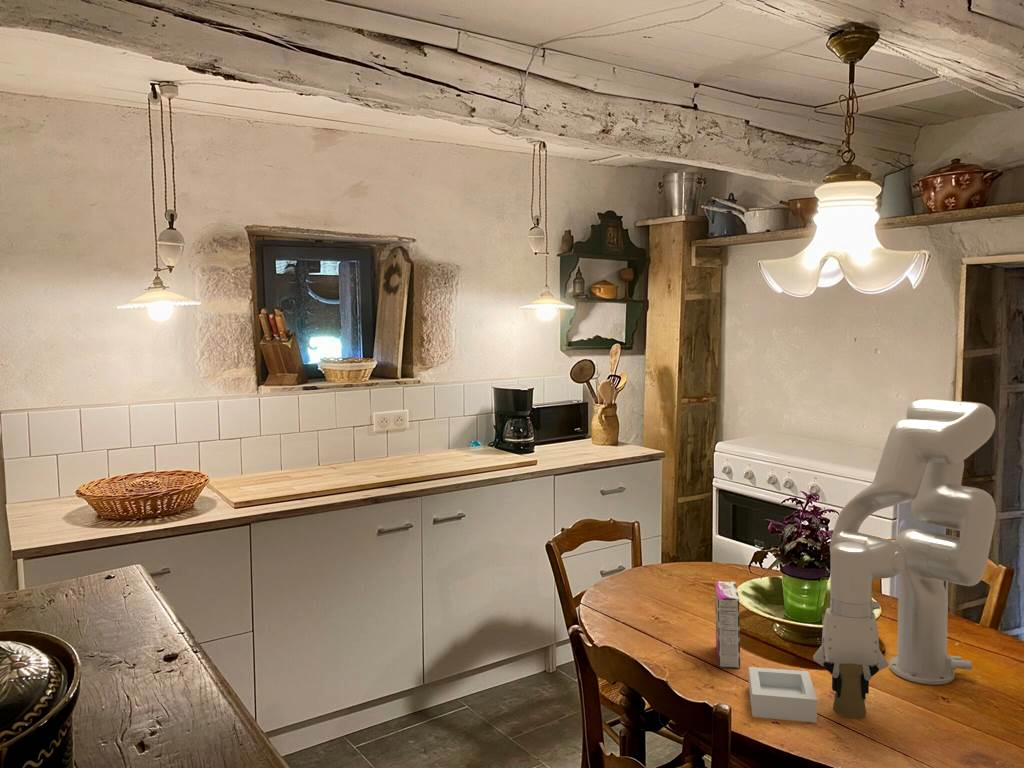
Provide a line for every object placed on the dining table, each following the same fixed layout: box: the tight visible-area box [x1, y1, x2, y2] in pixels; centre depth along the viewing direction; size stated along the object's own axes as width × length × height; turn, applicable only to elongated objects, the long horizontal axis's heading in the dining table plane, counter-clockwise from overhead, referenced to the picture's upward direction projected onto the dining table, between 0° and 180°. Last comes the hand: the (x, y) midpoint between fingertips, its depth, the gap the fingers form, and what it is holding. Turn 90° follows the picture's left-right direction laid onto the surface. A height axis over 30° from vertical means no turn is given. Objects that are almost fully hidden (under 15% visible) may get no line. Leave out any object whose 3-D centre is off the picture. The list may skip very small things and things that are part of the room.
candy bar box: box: [714, 580, 741, 669], centre depth 178 cm, size 11×5×16 cm, turn 168°
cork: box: [832, 664, 867, 719], centre depth 153 cm, size 6×6×11 cm
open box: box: [748, 666, 818, 723], centre depth 157 cm, size 12×12×5 cm
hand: (850, 694), depth 153 cm, fingers closed on cork, 3 cm apart
